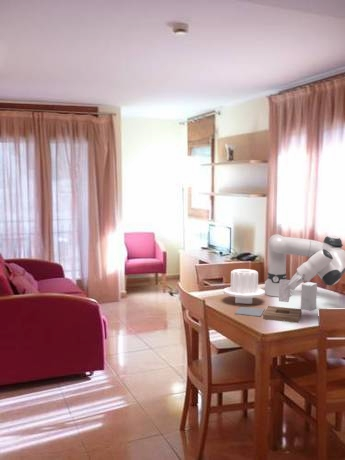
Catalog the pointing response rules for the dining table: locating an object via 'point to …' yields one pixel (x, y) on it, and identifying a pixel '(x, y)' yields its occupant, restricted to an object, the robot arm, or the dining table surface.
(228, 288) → the ribbed cylinder on disc
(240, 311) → the slate mat
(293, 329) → the dining table surface
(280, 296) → the steel plug
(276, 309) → the walnut socket block
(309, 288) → the skincare box
